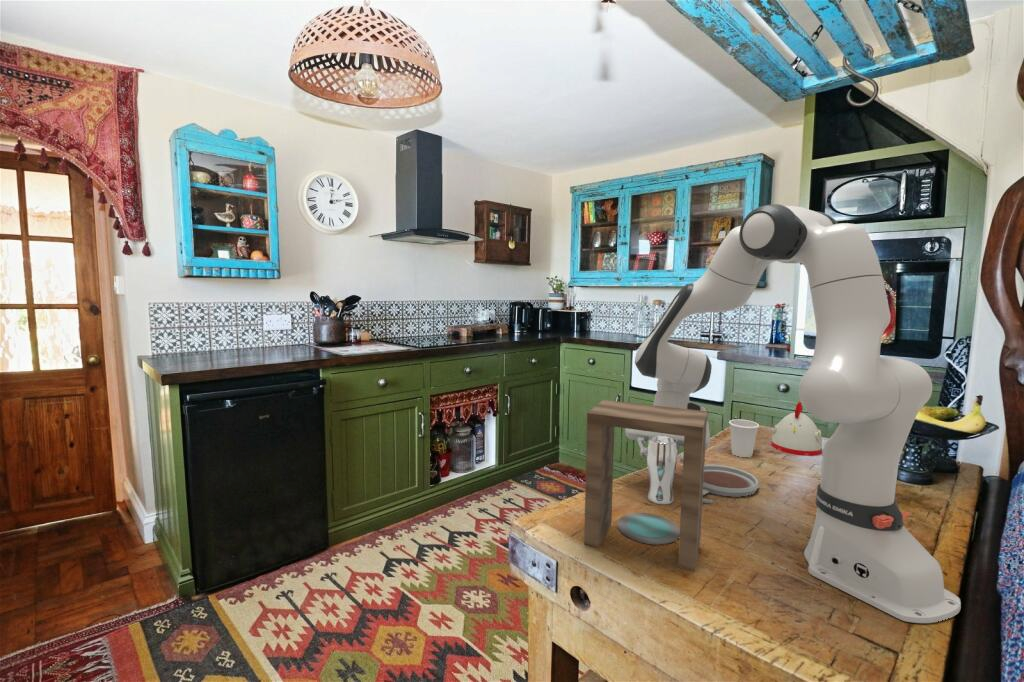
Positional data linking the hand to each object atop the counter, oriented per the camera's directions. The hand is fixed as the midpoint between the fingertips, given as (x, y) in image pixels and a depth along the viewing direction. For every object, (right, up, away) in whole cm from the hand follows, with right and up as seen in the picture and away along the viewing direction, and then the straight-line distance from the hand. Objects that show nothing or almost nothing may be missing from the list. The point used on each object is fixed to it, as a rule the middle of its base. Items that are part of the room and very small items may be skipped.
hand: (662, 458), depth 117 cm
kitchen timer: (+54, -6, +37) cm, 66 cm away
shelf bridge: (-9, -12, -17) cm, 22 cm away
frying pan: (+14, -10, +6) cm, 18 cm away
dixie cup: (+34, -7, +31) cm, 47 cm away
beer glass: (-1, -10, 0) cm, 10 cm away
